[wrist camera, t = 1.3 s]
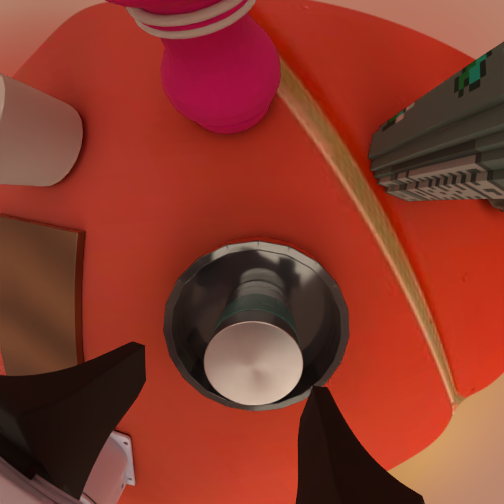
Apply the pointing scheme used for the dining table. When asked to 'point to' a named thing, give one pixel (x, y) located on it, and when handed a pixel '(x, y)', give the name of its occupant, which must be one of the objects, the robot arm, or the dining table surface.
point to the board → (40, 296)
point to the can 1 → (36, 135)
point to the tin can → (254, 348)
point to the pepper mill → (212, 59)
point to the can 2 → (447, 138)
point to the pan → (257, 275)
